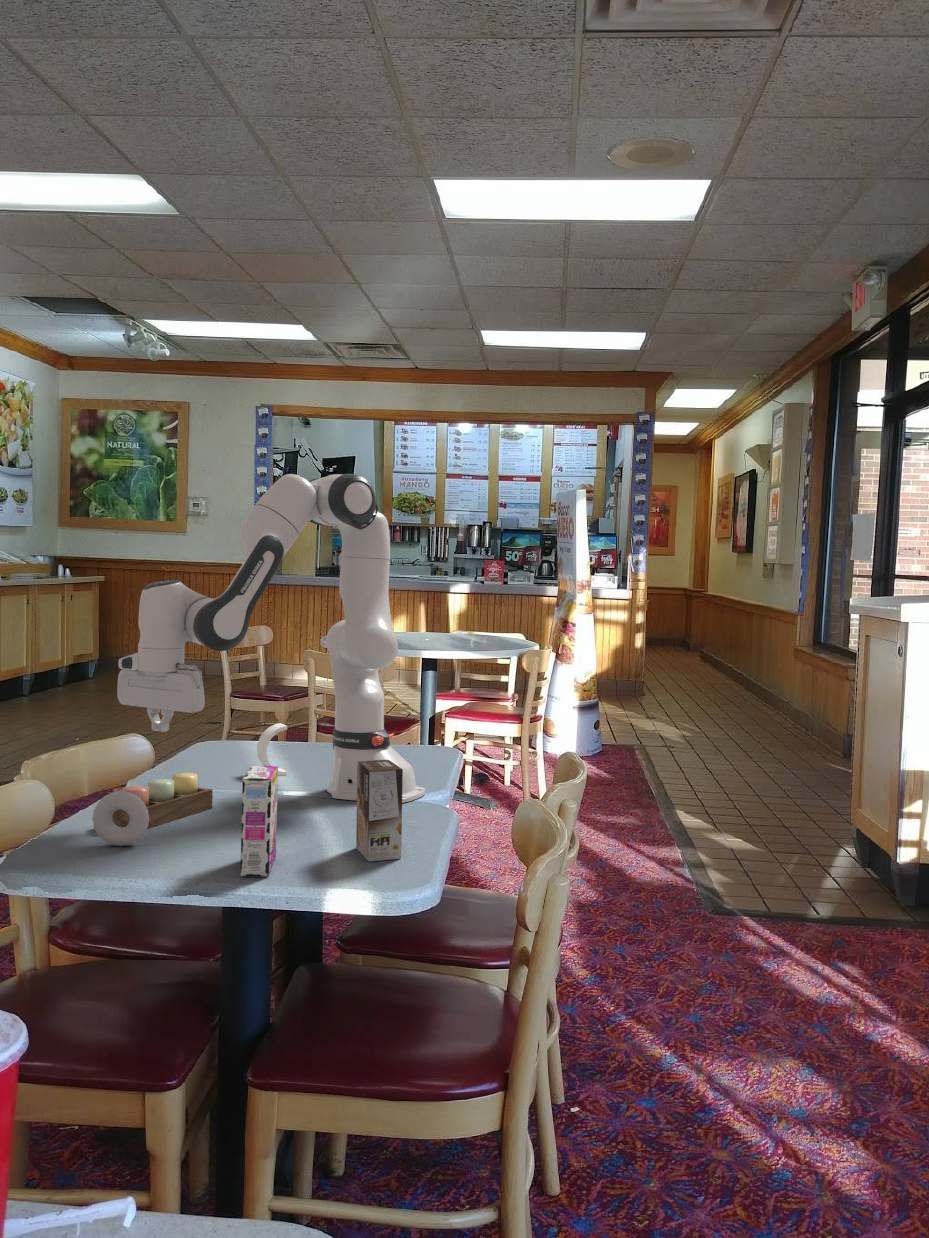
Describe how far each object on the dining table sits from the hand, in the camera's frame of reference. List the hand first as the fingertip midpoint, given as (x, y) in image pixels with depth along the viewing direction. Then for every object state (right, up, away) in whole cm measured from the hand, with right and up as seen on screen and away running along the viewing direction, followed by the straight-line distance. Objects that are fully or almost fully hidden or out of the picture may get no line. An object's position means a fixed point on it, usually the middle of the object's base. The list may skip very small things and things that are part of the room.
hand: (160, 730), depth 192 cm
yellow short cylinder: (+3, -14, +7) cm, 16 cm away
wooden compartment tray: (0, -18, +1) cm, 18 cm away
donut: (-1, -19, -19) cm, 26 cm away
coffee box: (+45, -20, -20) cm, 53 cm away
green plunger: (0, -14, +1) cm, 14 cm away
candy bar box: (+26, -20, -29) cm, 44 cm away
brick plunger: (-3, -15, -5) cm, 16 cm away
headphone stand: (+14, -16, +42) cm, 47 cm away
